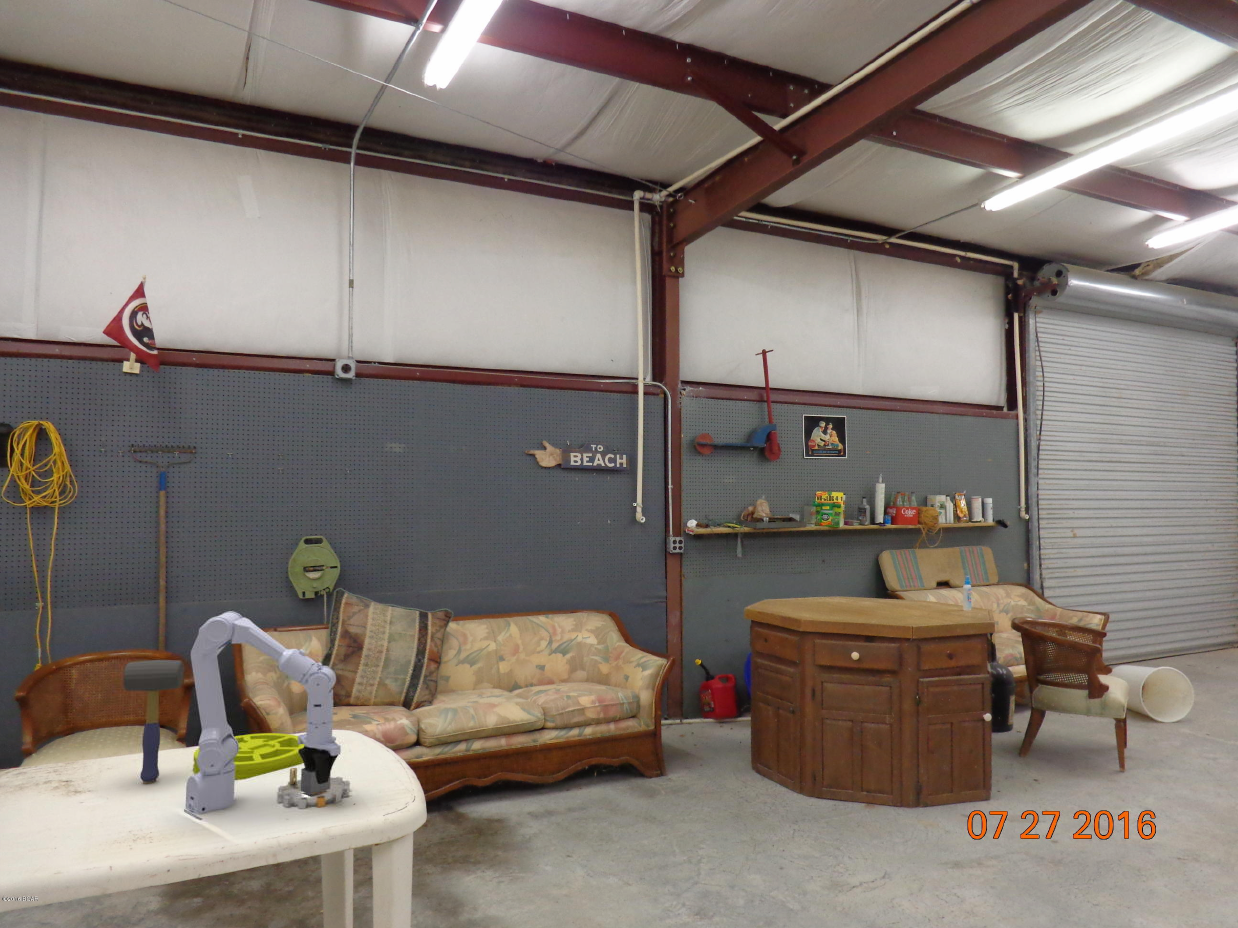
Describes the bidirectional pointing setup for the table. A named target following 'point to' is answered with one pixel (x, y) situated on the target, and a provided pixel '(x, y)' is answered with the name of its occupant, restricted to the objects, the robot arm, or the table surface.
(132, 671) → the rubber mallet
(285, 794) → the wheel
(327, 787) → the link block
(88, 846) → the table surface
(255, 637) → the robot arm
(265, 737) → the pulley
